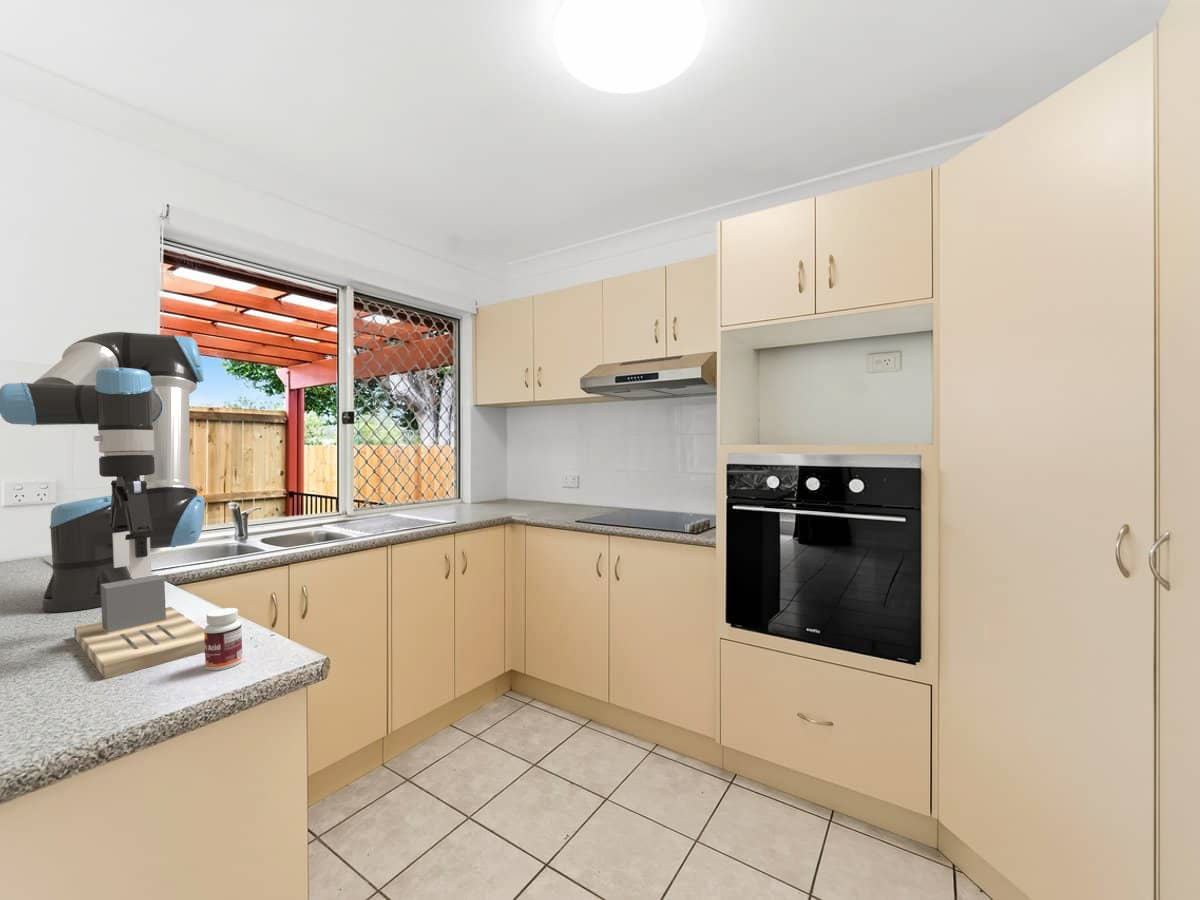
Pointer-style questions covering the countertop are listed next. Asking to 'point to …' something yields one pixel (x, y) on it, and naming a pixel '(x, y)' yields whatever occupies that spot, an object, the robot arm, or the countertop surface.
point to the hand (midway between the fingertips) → (131, 571)
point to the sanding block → (133, 603)
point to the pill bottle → (223, 639)
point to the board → (140, 644)
